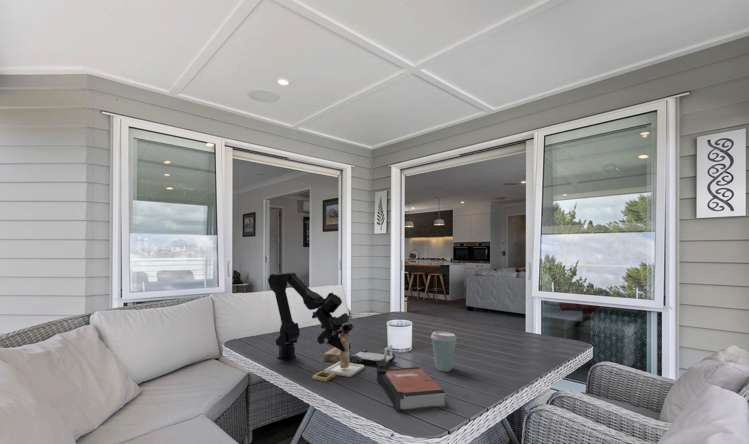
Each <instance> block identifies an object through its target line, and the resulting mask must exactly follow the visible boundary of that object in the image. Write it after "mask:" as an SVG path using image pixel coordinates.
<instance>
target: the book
mask: <svg viewBox="0 0 749 444" xmlns="http://www.w3.org/2000/svg"><path fill="white" fill-rule="evenodd" d="M376 382H377V384H378V385H380V384H381V385H380V386H381V388H382V387H383V388H382V389H383V391H384V393H385V394H386V395H387V397H388V398H389V400H390V402H391V403H392V408H393V409H394V410H395V412H401V411H409V410H418V409H419V408H421V409H429V408H439V407H446V406H447V404H446V403H445V396H446V395H447V394H446V391H444V390H443V389H442V387H440V385H438V384H437V383H436V382H435V381H434V377H432V376H430V375H427V373H425V372H424V371H423V370H422V368H420V367H419V366H415V367H404V368H391V369H390V368H389V369H386V368H383V369H380V368H378V369H377V368H376ZM419 410H420V409H419Z"/></svg>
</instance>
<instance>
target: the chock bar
mask: <svg viewBox="0 0 749 444" xmlns="http://www.w3.org/2000/svg"><path fill="white" fill-rule="evenodd" d="M323 357H324V358H323V360H324V362H331V363H332V362H333V363H338V362H339V361H340V350H339V349H337V348H336V347H334V346H333V348H331V349H329V350H328V351H326V352H324V353H323Z"/></svg>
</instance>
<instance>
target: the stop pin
mask: <svg viewBox="0 0 749 444" xmlns="http://www.w3.org/2000/svg"><path fill="white" fill-rule="evenodd" d="M340 341H341V343H342V345H343V346H344V348H345V351H344V352H343V351H341V350H340V368H348V367H349V363H350V349H349V343H350V333H348V334H341V335H340Z"/></svg>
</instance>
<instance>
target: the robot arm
mask: <svg viewBox="0 0 749 444" xmlns="http://www.w3.org/2000/svg"><path fill="white" fill-rule="evenodd" d="M267 281H268V285H269V287H270V290H271V291H272V292H274V295H275V299H276V305H277V308H278V313H279V318H280V323H281V324H280V328H279V336H278V337H277V339H275V345H276V346H278V356H276V359H278V360H284V361H289V360H291V359H293V358H296V357H297V354H296V353H295V352H296V347H295V344H296V343H297V342H298V339H299V337H300V332H301V330H300V327H299V323H298V322H294V320H293V318H292V317H293V316H292V314H291V308H290V304H289V300H288V296H287V291H286V290H287V287H288V285H290V286H291V288H293V290H294V291H296V293H297V294H298V295H299V297H301V298H302V301H303V304H304V305H305V307H306V308H307V309H308V310H310V311H312V310H315V311H312V315H311V317H312V319H313V320H314V319H317V320H318V322H320V324H321V326H320V328H321V329H324V330H322V332H321V333H320V334H319V335H318V337H317V338H316V341H317V343H318V345H323V344H325V342H326V341H325V340H327V342H326V345H330V346H331V347H333V348H334V347H336V348H337V349H339V350H341V351H343V352H344V351H345V348H344V346H343V345H342V343H341V341H340V335H341V334H350V332H351V331H352V330H353V329H354V328H355V327H354V325H353V324H352V323H349V320H350V315H348V313H347V312H345V313H343V314H341V315H339V316H338V317H336V316H333V315H332V314H334V313H335V312H336V310H338V308H339V307H340V306H341V305H342V304H343V300H342V299H341V297H340V296H338V295H337V294H334V293H333V292H329V293H328V294H327V295H326V297H325V298H324V297H323V296H322V295H320V294H319V293H318V292H315V291H313V290H311V289H310V288H309V287H308V286H307V285H306V284H305V283H304V282H303V281H302V280H301V279H300V277H298V276H297V274H296V273H295V272H286V273H283V272H282V273H281V272H280V273H271V274H270V275H269V277H268V278H267ZM351 348H352V347H351V343H350V342H349V350H351Z"/></svg>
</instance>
